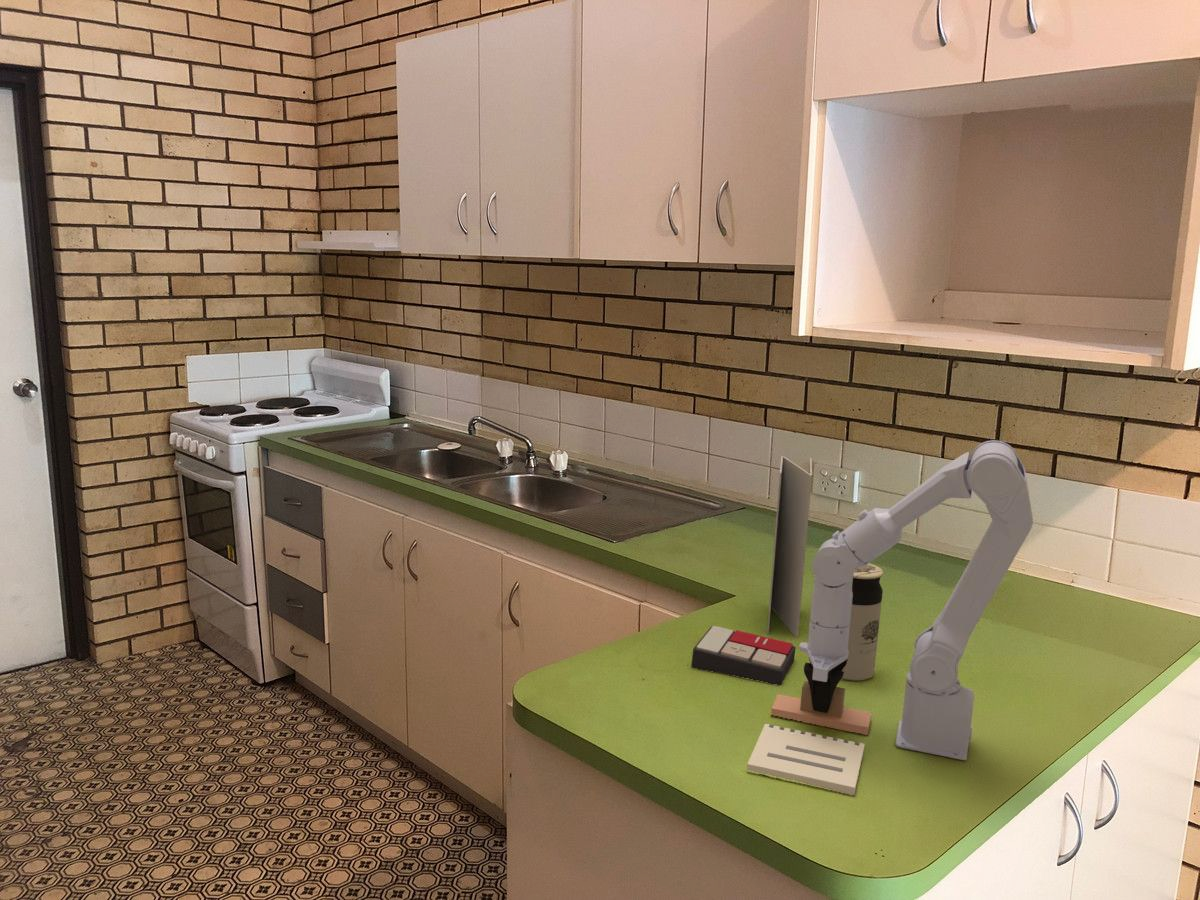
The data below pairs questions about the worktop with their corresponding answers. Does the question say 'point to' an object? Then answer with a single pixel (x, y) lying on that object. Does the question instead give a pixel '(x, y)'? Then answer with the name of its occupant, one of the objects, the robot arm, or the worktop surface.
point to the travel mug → (864, 623)
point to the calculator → (743, 655)
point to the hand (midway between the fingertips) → (822, 706)
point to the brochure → (790, 543)
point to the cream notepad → (808, 758)
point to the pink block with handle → (834, 718)
